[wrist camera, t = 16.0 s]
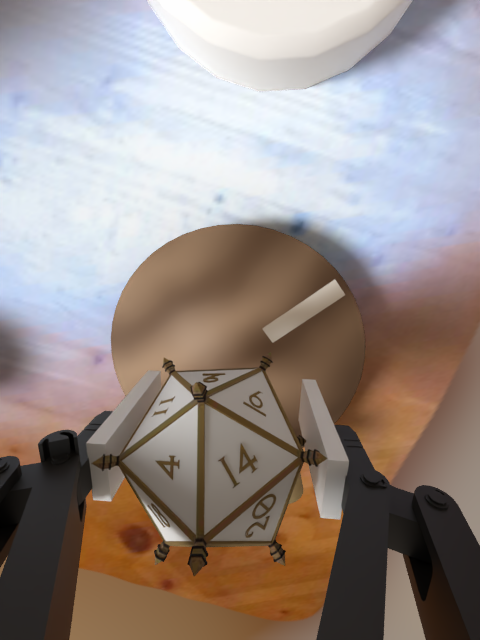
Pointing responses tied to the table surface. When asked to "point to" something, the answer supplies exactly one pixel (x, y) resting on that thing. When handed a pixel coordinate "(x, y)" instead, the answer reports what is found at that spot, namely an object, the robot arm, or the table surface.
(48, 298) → the table surface
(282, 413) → the game die
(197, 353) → the turntable
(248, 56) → the container
